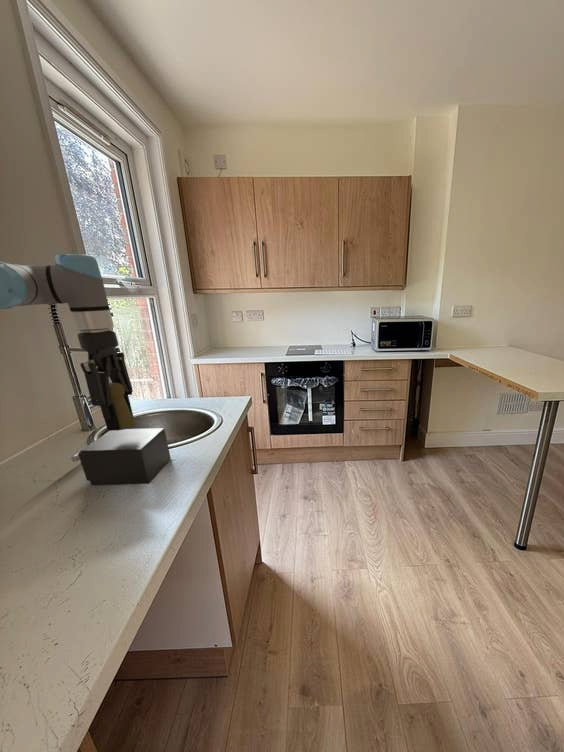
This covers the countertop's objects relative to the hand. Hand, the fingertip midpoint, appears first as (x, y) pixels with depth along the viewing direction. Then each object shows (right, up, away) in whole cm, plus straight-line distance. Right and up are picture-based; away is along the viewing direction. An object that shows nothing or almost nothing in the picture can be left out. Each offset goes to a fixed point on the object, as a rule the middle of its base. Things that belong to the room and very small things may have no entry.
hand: (121, 424), depth 88 cm
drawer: (-4, -12, +5) cm, 13 cm away
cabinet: (0, -12, +5) cm, 13 cm away
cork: (0, 0, 0) cm, 1 cm away
